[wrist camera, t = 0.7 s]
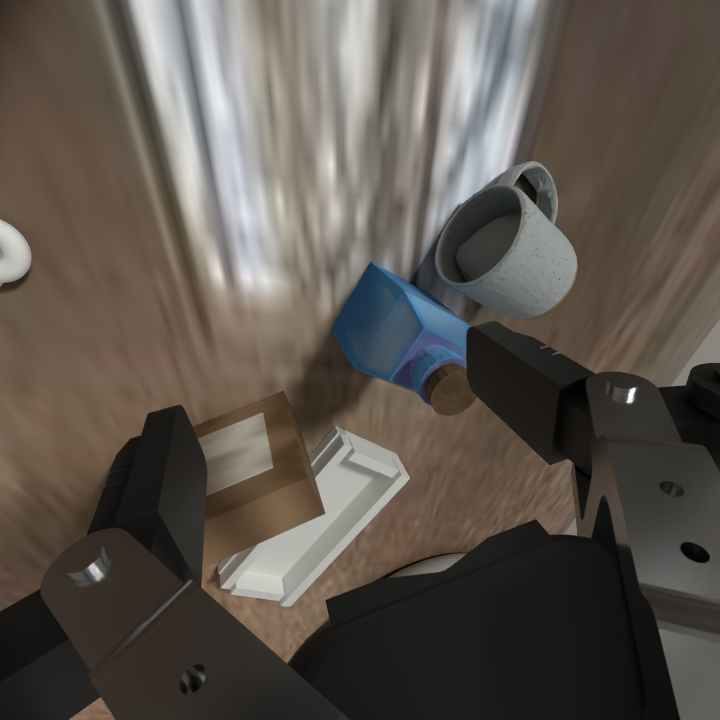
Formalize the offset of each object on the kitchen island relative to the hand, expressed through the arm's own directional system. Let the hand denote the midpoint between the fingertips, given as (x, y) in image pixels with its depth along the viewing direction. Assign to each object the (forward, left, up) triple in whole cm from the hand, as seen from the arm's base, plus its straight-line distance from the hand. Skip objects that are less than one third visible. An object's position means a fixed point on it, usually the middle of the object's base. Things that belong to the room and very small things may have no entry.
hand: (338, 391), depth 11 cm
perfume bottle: (+11, 0, -19) cm, 22 cm away
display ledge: (+19, -21, -19) cm, 34 cm away
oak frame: (+6, -17, -19) cm, 26 cm away
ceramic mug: (+14, +11, -19) cm, 26 cm away
